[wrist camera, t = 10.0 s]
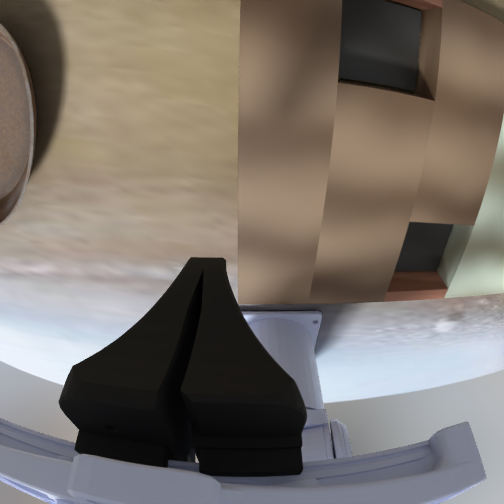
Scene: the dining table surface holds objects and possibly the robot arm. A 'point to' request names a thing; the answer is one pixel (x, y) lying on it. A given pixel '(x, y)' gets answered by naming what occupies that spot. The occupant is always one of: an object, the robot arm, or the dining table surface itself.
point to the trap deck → (369, 151)
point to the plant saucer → (15, 125)
